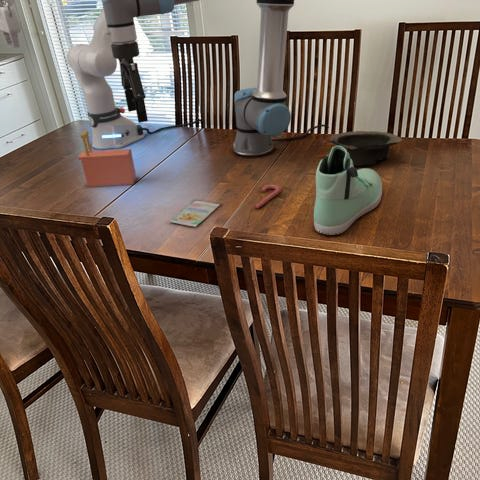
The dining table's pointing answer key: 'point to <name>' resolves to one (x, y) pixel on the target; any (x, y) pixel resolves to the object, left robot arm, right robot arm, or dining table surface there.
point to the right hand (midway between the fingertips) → (137, 116)
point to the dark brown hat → (366, 145)
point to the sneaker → (343, 192)
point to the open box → (109, 171)
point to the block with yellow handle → (100, 154)
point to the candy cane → (262, 202)
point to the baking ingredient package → (194, 213)
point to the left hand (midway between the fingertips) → (13, 45)
